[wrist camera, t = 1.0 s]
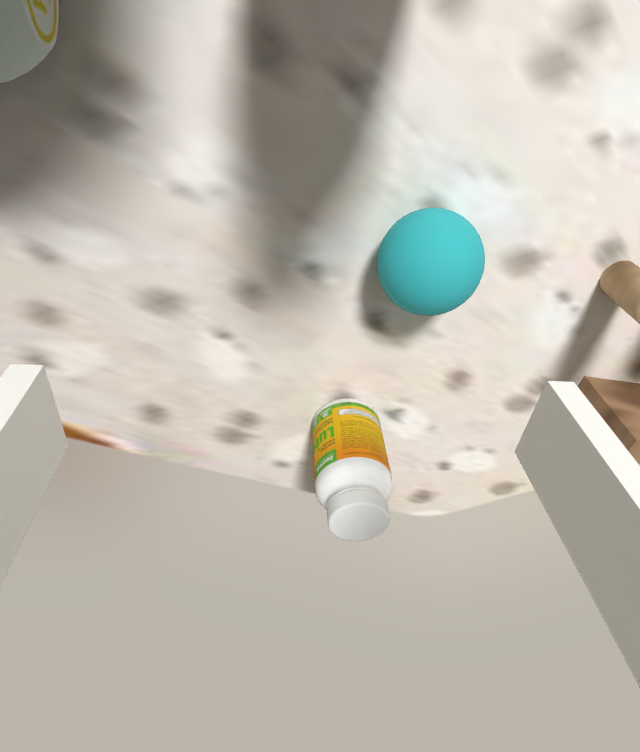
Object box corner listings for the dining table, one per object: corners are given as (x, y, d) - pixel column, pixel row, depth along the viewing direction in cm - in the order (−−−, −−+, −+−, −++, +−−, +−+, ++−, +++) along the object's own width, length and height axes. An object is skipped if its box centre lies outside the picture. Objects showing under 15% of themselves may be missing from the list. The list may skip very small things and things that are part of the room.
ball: (360, 279, 32) (373, 327, 27) (385, 185, 28) (404, 220, 23) (447, 293, 33) (474, 341, 28) (481, 203, 29) (519, 241, 24)
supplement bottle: (322, 390, 37) (330, 490, 29) (388, 402, 38) (413, 502, 30) (304, 440, 40) (307, 543, 32) (366, 450, 41) (383, 552, 33)
